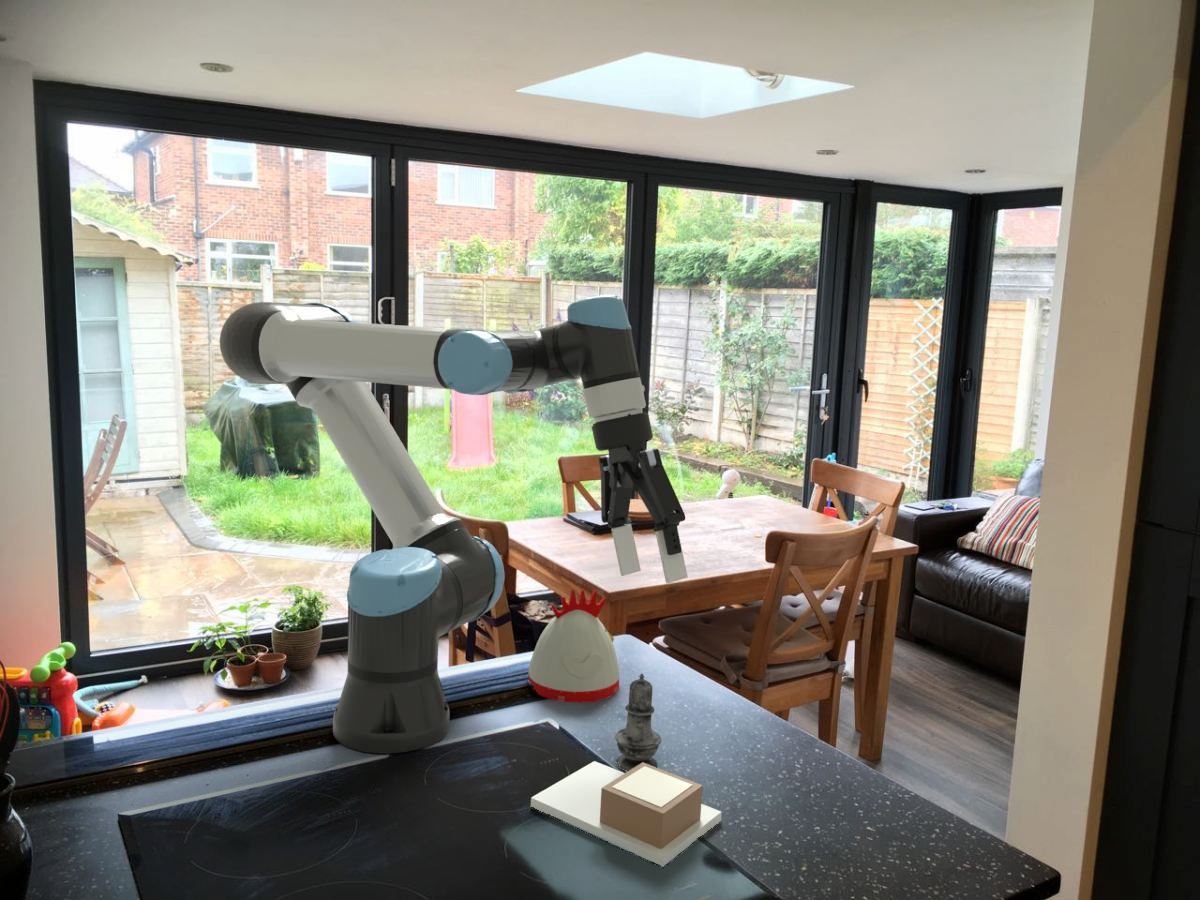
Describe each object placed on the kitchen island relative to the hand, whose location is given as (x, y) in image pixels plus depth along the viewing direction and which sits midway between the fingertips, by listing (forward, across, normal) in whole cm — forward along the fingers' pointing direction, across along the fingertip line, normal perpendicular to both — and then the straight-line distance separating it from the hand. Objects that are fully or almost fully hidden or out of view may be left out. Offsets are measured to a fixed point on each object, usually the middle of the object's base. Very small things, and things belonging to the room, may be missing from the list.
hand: (652, 576), depth 123 cm
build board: (+23, -11, +14) cm, 29 cm away
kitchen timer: (+17, +26, +5) cm, 31 cm away
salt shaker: (+22, 0, +8) cm, 24 cm away
